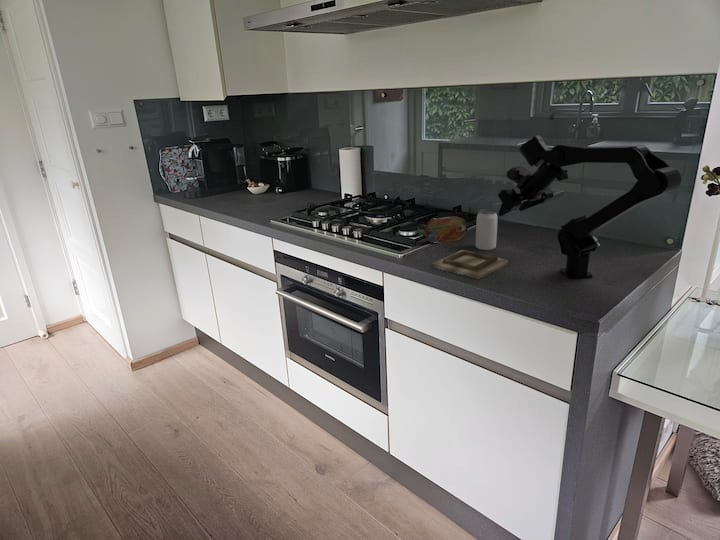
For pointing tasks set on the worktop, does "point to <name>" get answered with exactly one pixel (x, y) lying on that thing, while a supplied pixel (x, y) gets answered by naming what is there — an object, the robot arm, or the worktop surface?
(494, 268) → the base plate
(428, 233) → the tin
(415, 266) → the worktop surface
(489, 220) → the can
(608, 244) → the worktop surface
